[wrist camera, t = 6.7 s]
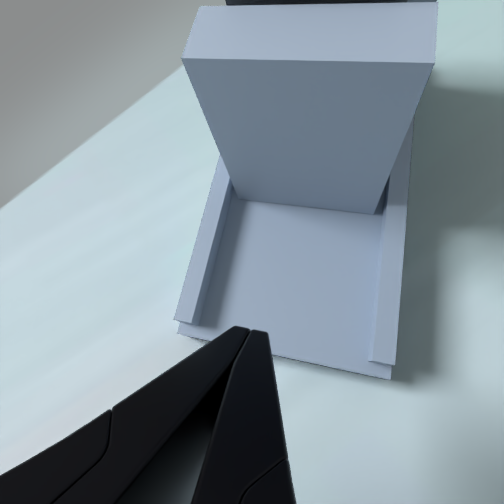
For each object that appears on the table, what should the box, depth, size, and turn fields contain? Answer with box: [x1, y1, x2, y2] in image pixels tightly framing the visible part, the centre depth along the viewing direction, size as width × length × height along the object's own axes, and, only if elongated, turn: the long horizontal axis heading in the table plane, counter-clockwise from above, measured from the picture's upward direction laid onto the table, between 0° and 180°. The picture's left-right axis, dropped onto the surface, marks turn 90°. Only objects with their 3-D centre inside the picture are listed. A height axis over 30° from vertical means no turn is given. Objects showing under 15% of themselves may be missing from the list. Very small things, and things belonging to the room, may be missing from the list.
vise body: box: [174, 0, 437, 380], centre depth 14 cm, size 17×9×8 cm, turn 168°
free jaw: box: [181, 2, 438, 214], centre depth 12 cm, size 2×6×8 cm, turn 78°
